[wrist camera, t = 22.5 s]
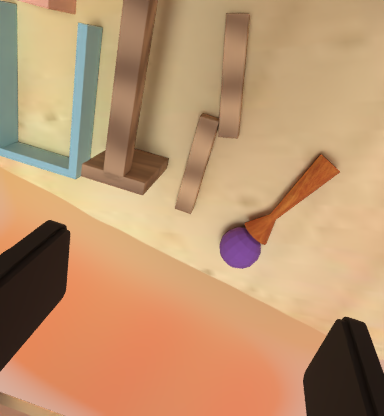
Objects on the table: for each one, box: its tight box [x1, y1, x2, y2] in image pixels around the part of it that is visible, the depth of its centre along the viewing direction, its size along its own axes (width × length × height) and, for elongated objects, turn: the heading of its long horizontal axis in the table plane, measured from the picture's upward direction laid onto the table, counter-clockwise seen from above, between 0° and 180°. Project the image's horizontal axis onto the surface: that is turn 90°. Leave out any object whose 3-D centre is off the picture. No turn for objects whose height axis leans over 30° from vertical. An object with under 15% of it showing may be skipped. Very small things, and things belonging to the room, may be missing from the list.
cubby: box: [0, 1, 103, 179], centre depth 46 cm, size 20×13×4 cm, turn 166°
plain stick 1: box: [175, 113, 219, 214], centre depth 47 cm, size 14×2×2 cm, turn 165°
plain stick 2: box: [218, 13, 250, 138], centre depth 41 cm, size 14×2×2 cm, turn 178°
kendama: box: [220, 155, 340, 269], centre depth 46 cm, size 6×6×20 cm
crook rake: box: [81, 0, 169, 195], centre depth 38 cm, size 28×8×10 cm, turn 166°
